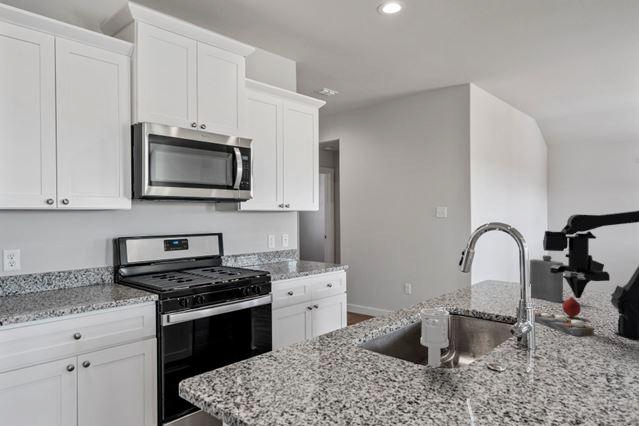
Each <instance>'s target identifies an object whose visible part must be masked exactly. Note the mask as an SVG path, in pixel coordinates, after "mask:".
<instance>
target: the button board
mask: <svg viewBox="0 0 639 426" xmlns="http://www.w3.org/2000/svg"><path fill="white" fill-rule="evenodd" d="M534 313H535V321H534V322H535V323H538V324H540V325H543V326H546V327H549V328H551V329H554V330H557V331H559V332H562V333H565V334H567V335H571V336H575V337H576V336H588V335H595V328H594V327H592V326H588V325H586V324H584V327H582V328H576V327H573V325H572V324H571V320H572V319H571V320H570V319H568V318H567V322H559V321H556V319H555V315H556V314H552V317H544V316H541V313H542V312H534ZM544 313H547V312H544Z"/></svg>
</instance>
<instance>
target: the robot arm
mask: <svg viewBox="0 0 639 426" xmlns="http://www.w3.org/2000/svg"><path fill="white" fill-rule="evenodd" d="M633 223H639V210H634V211H633V210H632V211H623V212H617V213H616V212H615V213H606V214H599V215H598V214H597V215H596V214H572V215H570V216H569V217H568V219H567V222H566V224H565V226H564V227H563V228H562V229H561V230H560V231H550V230H545V231H544V236H543V239H542V245H543V251H544V252H545V251H546V252H547V251H548V252H563V251H564V250H565V249H567V248H568V253H565V258H568V261H567V262H568V265H567V264H563V265H552V266H551V273H555V274H558V273H560V272H563V274H564V275H563V279H564V280H565V281H566V283H567V285H568V286H569V288H570V289H571V291H572V293H573V295H574V297H575V298H576V299H581V297H582V296H583V293H584V290H585V288H586V286H587V285H588V284H589V283H590V282H607V281H609V282H610V280H611V279H610V273H609V272H608V271H605V270H604V267H605V264H603V263H601V262H599V261H597V260H594V259H593V255H592V254H589V248H590V247H589V245H590V244H589V243H590V239H597V236H595V235H594V234H593V233H592V232H591V230H595V229H598V228H601V227H606V226H617V225H626V224H633ZM567 235H568V236H567ZM610 296H611V300H610V302H611V306H612V307H613V308H614V309H616V310H617V313H618V314H619V316H618V319H617V331H616V332H614V334H615V335H617V336H620V337H623V338H626V339H630V340H635V341H636V340H639V265H638V266H637V268H636V269H635V271H634V272H633V274H632V276H631V277H630V279H629V281H627V282H626V284H625V285H623V286H620V285H616V287H615V290H614V291H613V293H612V294H610Z"/></svg>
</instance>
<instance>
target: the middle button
mask: <svg viewBox="0 0 639 426" xmlns="http://www.w3.org/2000/svg"><path fill="white" fill-rule="evenodd" d="M554 315H555V319H556V321H559V322H567V319H568V315H565V314H564V315H563V314H554Z"/></svg>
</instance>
